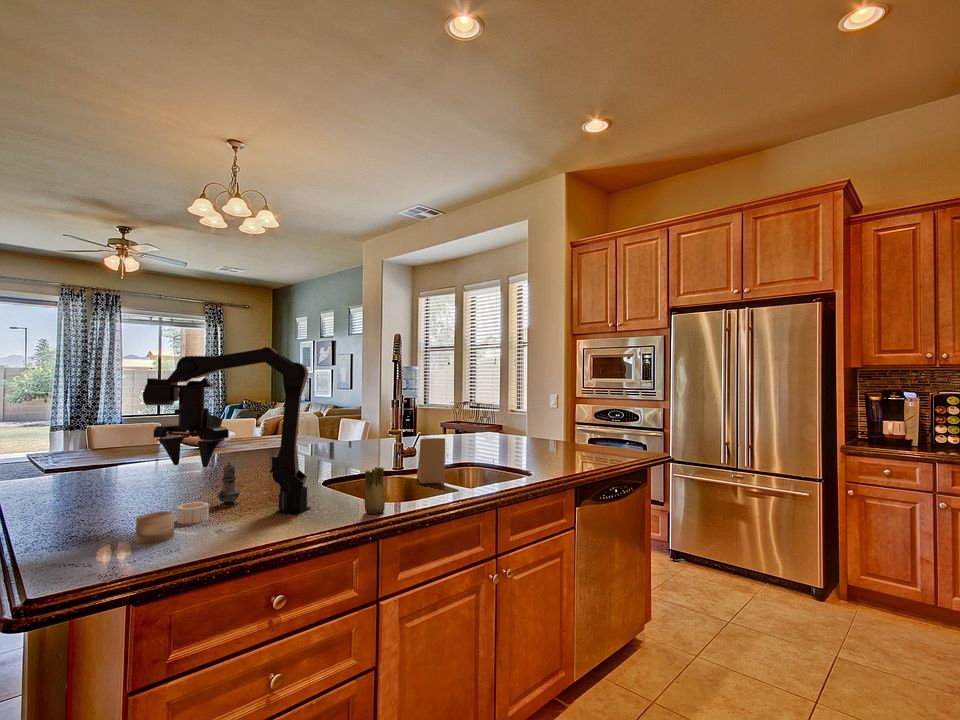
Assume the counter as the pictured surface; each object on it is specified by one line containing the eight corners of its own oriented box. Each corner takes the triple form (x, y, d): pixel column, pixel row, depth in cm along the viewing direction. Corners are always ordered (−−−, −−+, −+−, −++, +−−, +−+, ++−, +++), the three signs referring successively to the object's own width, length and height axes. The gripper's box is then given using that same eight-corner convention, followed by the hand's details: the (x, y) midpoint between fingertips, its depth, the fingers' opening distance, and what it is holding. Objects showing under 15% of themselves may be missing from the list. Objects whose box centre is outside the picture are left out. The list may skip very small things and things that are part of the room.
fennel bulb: (365, 517, 129) (365, 470, 130) (361, 512, 134) (362, 466, 134) (387, 514, 132) (387, 468, 132) (383, 509, 136) (383, 465, 136)
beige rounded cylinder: (181, 535, 112) (181, 513, 112) (153, 546, 106) (153, 522, 106) (156, 532, 114) (157, 510, 114) (127, 542, 108) (128, 519, 108)
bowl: (214, 519, 127) (214, 503, 127) (192, 526, 120) (192, 510, 120) (193, 516, 129) (193, 501, 129) (170, 524, 122) (171, 507, 122)
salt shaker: (230, 508, 136) (231, 464, 136) (211, 507, 137) (212, 463, 138) (244, 503, 142) (245, 460, 142) (226, 501, 143) (227, 459, 143)
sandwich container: (440, 473, 185) (440, 432, 185) (445, 482, 170) (445, 438, 170) (416, 474, 183) (416, 433, 184) (419, 483, 168) (420, 438, 169)
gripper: (244, 403, 134) (243, 462, 134) (188, 402, 139) (187, 458, 139) (211, 406, 123) (210, 470, 123) (152, 404, 129) (151, 466, 128)
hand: (190, 466), depth 129 cm, fingers open, 9 cm apart
